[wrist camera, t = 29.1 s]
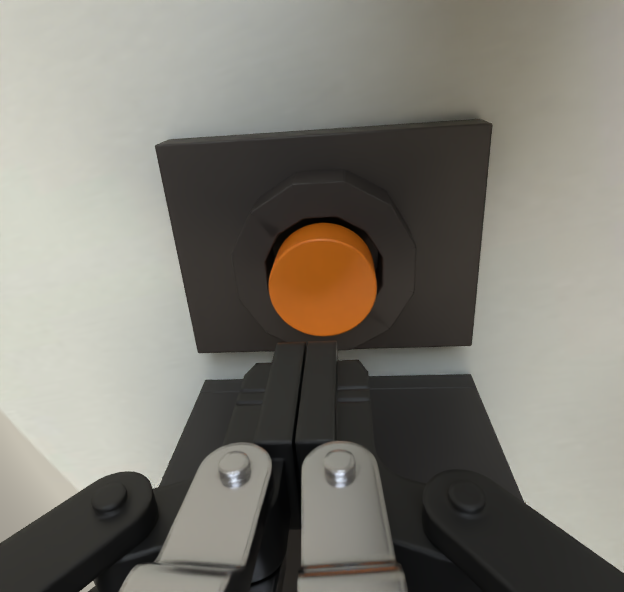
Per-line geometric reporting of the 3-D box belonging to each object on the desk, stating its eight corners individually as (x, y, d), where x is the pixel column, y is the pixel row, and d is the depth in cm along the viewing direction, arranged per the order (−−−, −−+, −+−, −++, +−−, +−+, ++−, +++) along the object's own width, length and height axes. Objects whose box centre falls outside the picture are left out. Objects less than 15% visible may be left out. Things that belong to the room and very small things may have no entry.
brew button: (373, 219, 16) (376, 235, 14) (374, 311, 18) (377, 335, 16) (269, 224, 16) (262, 241, 15) (279, 315, 18) (273, 338, 16)
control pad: (481, 118, 17) (512, 129, 14) (463, 328, 21) (484, 374, 18) (167, 139, 18) (131, 154, 15) (206, 336, 22) (183, 380, 19)
